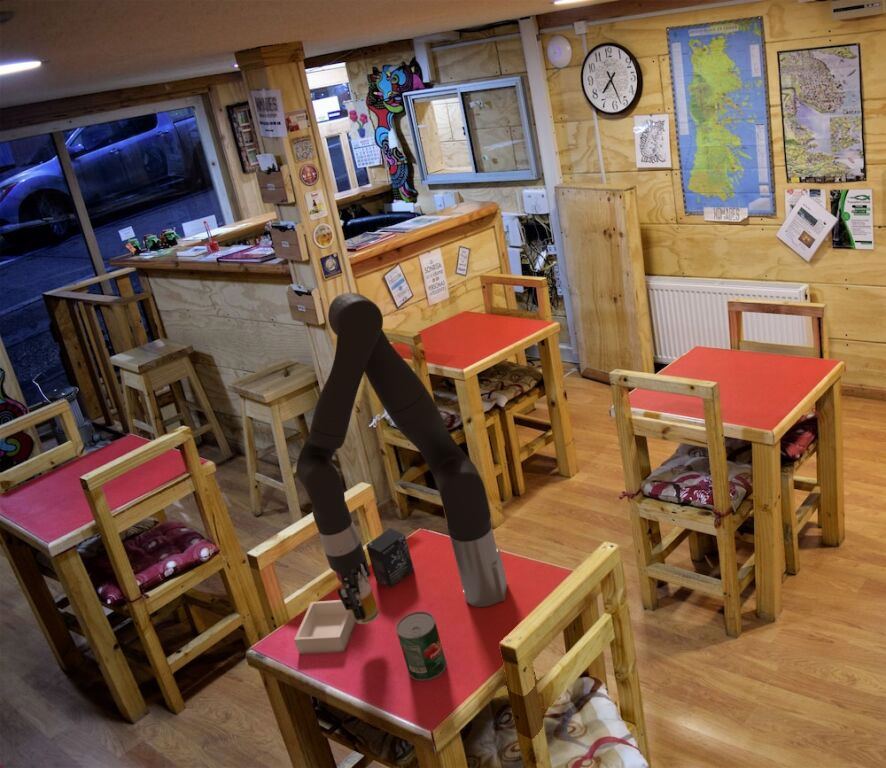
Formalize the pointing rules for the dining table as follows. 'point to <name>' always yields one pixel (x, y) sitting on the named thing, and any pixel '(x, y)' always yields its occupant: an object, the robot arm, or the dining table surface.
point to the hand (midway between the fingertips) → (364, 608)
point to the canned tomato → (421, 645)
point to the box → (390, 557)
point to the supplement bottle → (367, 603)
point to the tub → (325, 628)
